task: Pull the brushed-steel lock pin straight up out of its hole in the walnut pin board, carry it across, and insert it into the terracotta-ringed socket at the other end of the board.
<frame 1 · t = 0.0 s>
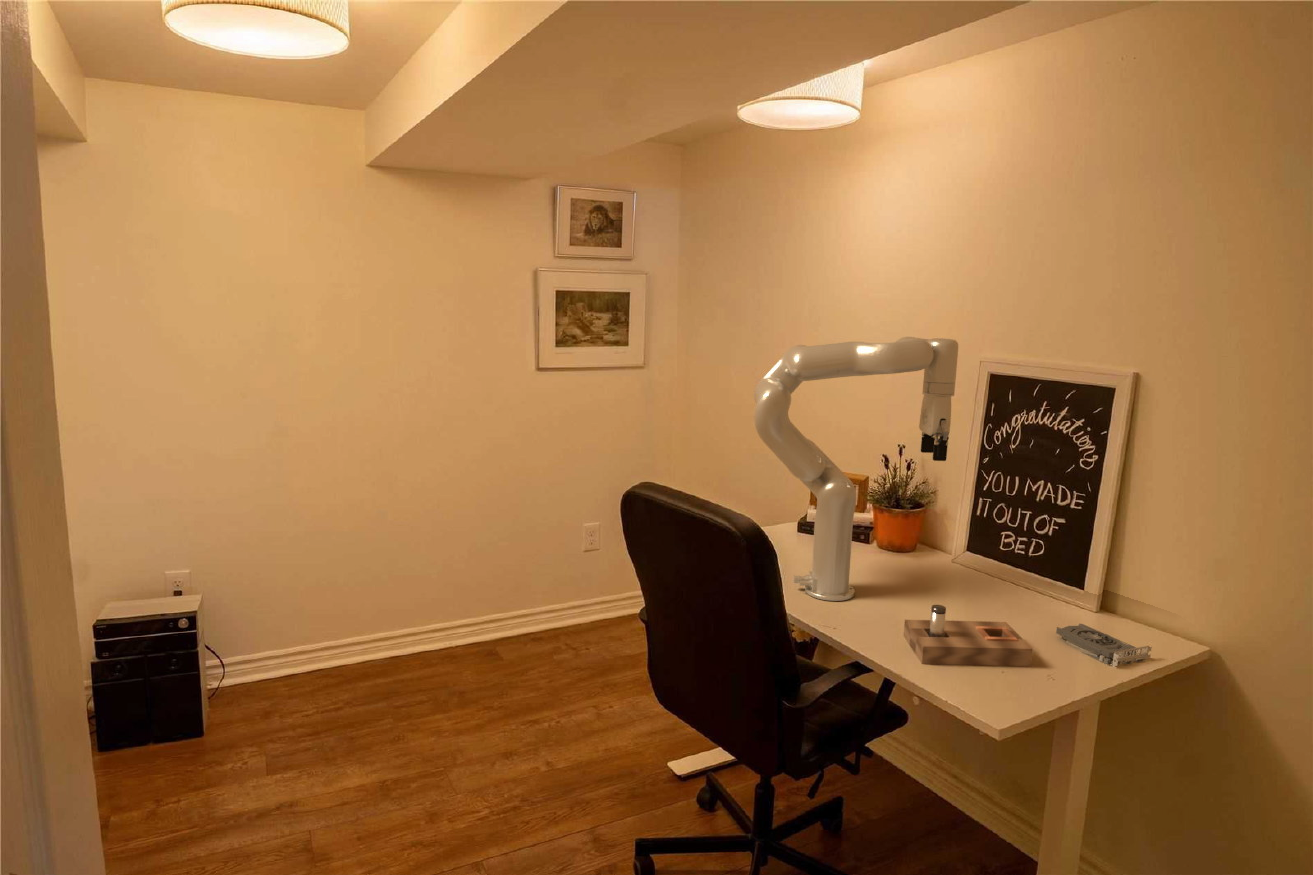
hand: (933, 456, 208), 37 cm above the table, tool pointing down, fingers open, 9 cm apart
graphics card: (1100, 651, 185), on the table
pin board: (964, 650, 182), on the table
lock pin: (935, 650, 182), resting in pin board
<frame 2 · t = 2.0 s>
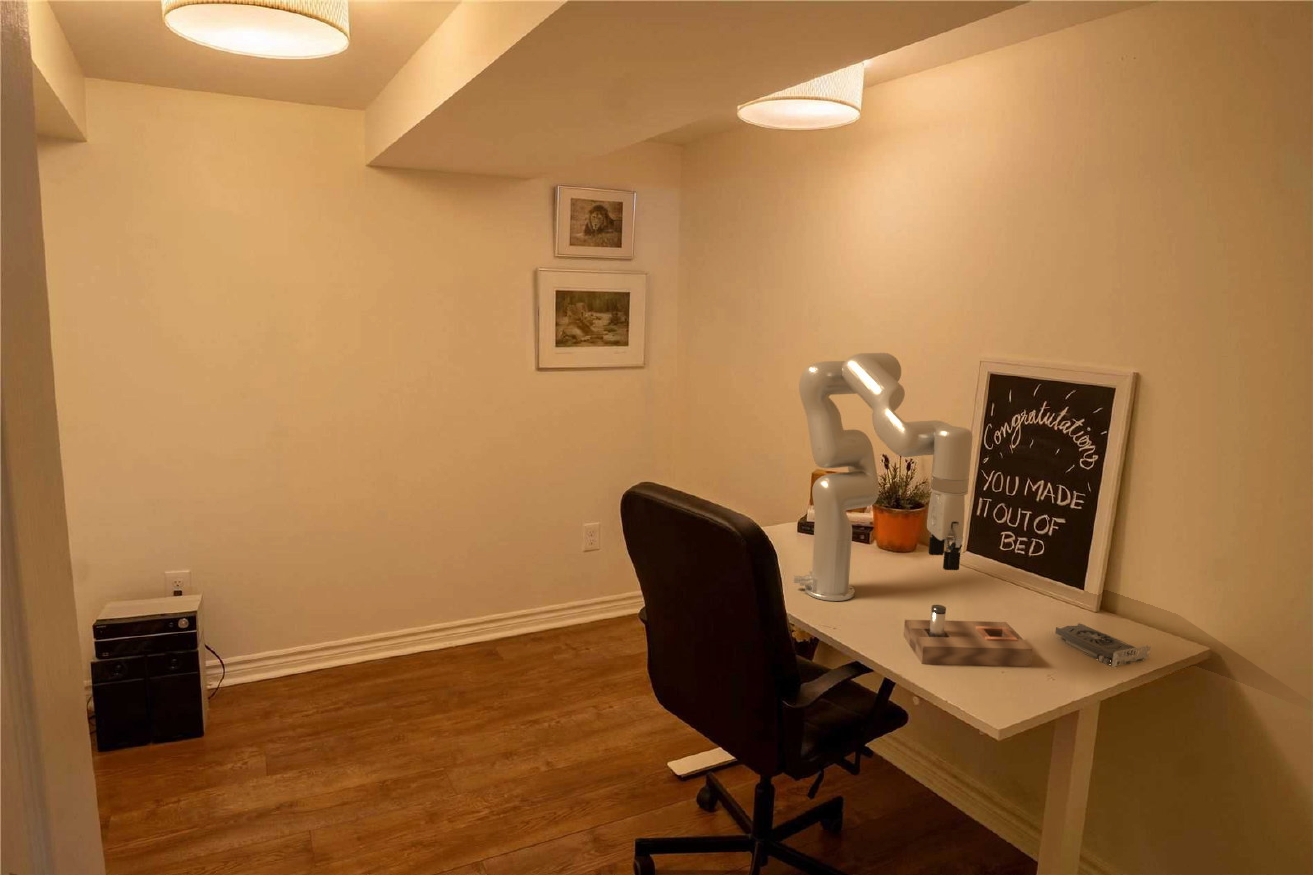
hand: (943, 562, 178), 20 cm above the table, tool pointing down, fingers open, 9 cm apart
nothing on the table moved.
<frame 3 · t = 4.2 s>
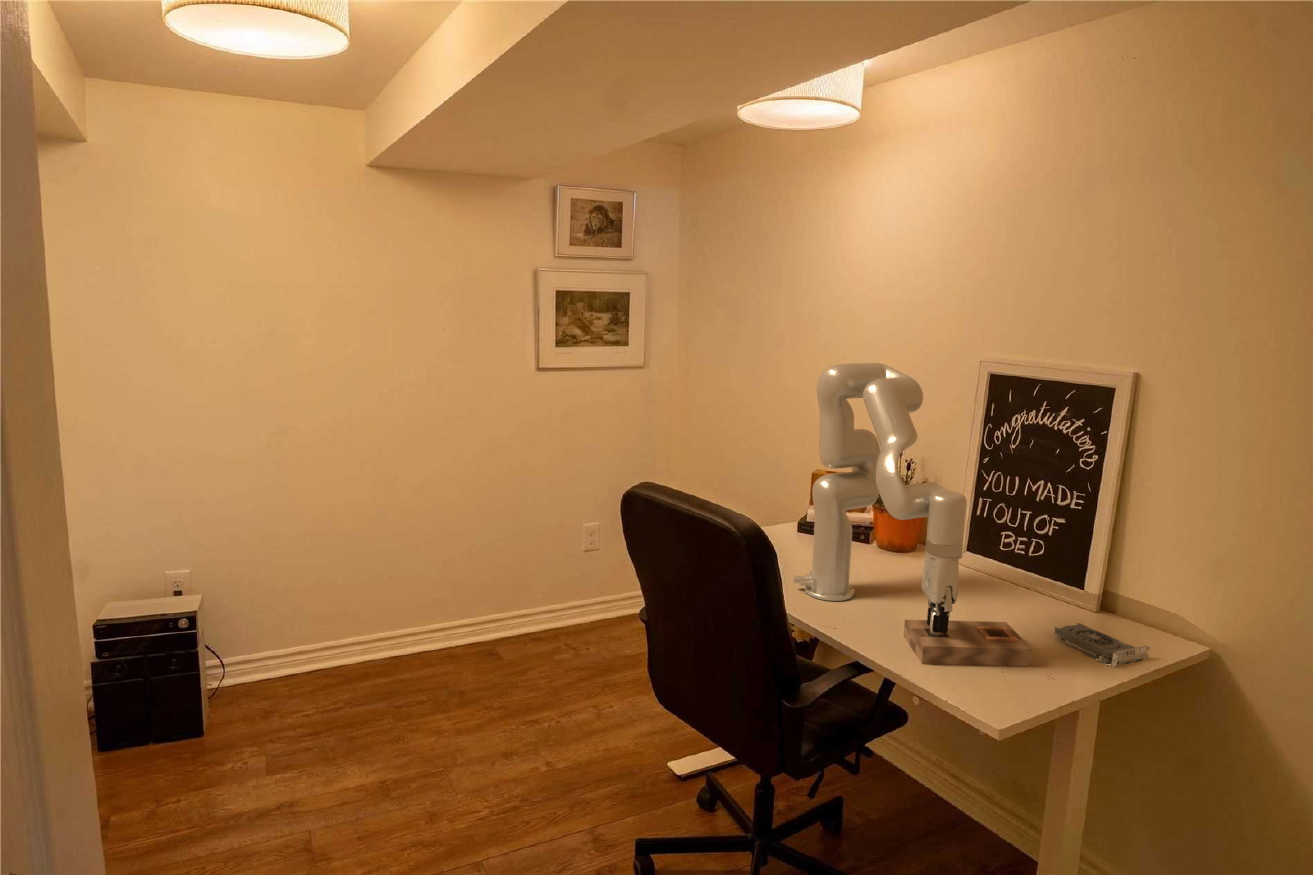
hand: (937, 627, 181), 5 cm above the table, tool pointing down, fingers closed on lock pin, 3 cm apart
lock pin: (935, 650, 182), resting in pin board, touching gripper
everything else where it was.
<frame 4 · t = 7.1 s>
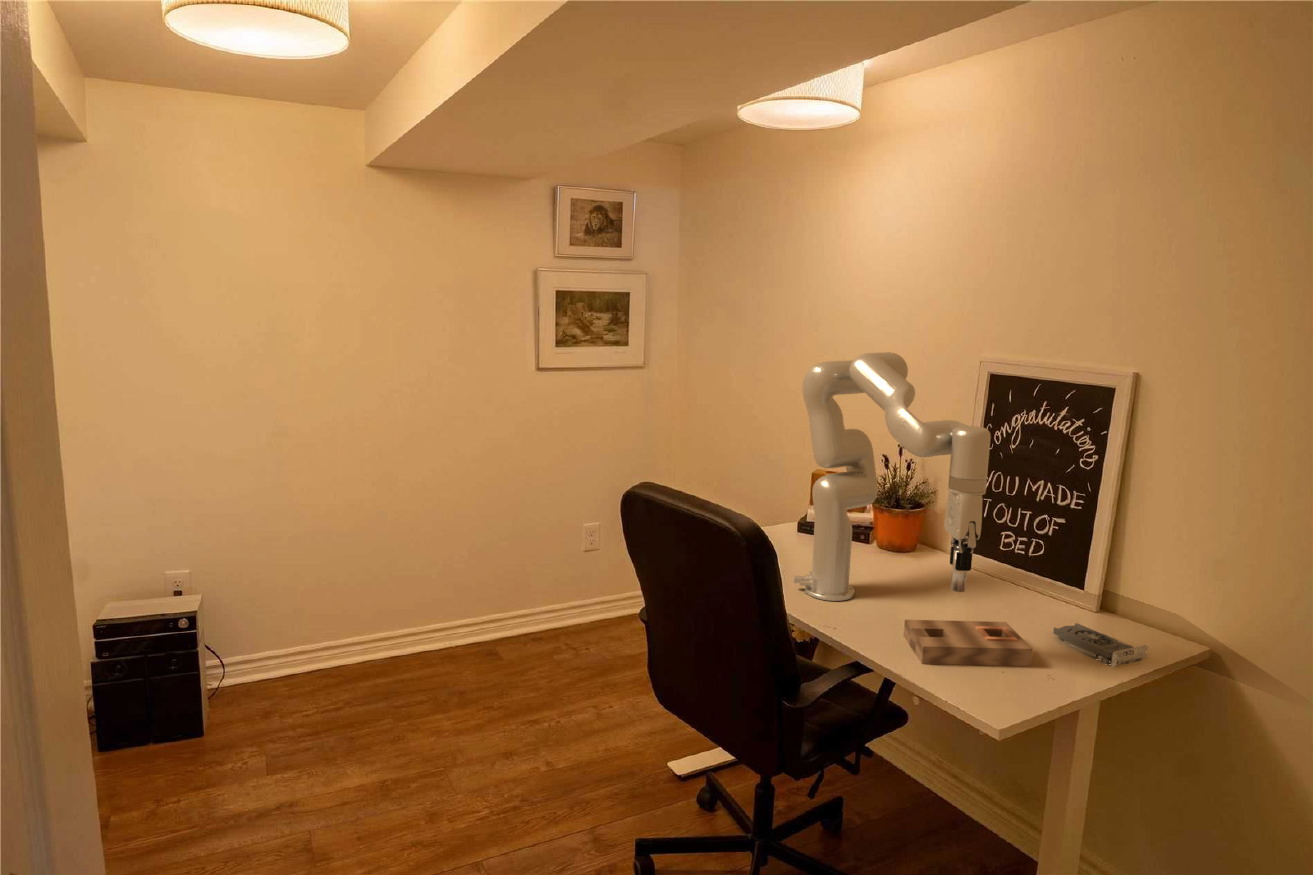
hand: (960, 566, 178), 19 cm above the table, tool pointing down, fingers closed on lock pin, 3 cm apart
lock pin: (958, 589, 179), point 14 cm above the table, touching gripper
everything else where it was.
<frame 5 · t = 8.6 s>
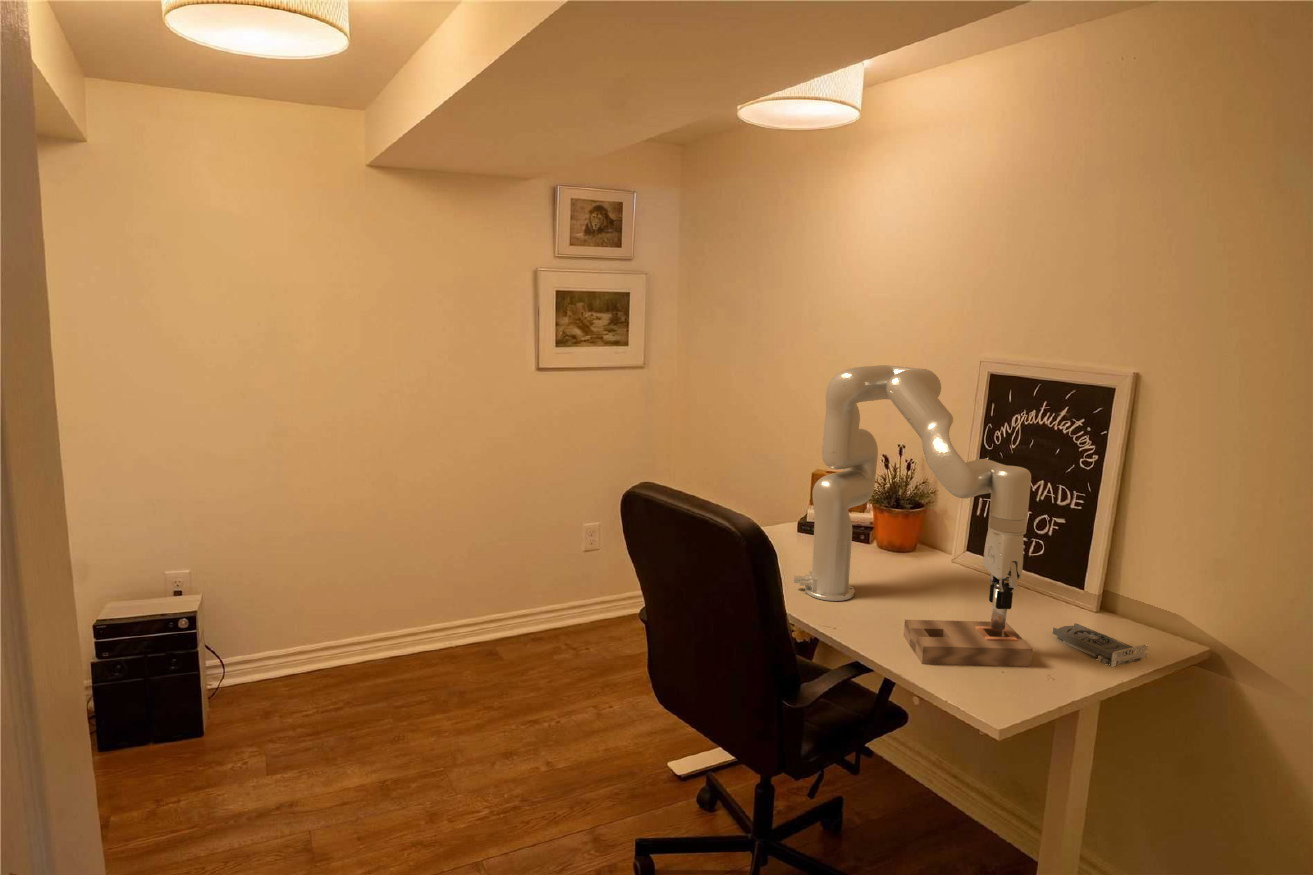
hand: (999, 604, 180), 11 cm above the table, tool pointing down, fingers closed on lock pin, 3 cm apart
lock pin: (997, 627, 181), point 6 cm above the table, touching gripper
everything else where it was.
when the fingers open (6 cm above the table, at t = 9.9 s): lock pin stays where it is, resting in pin board.
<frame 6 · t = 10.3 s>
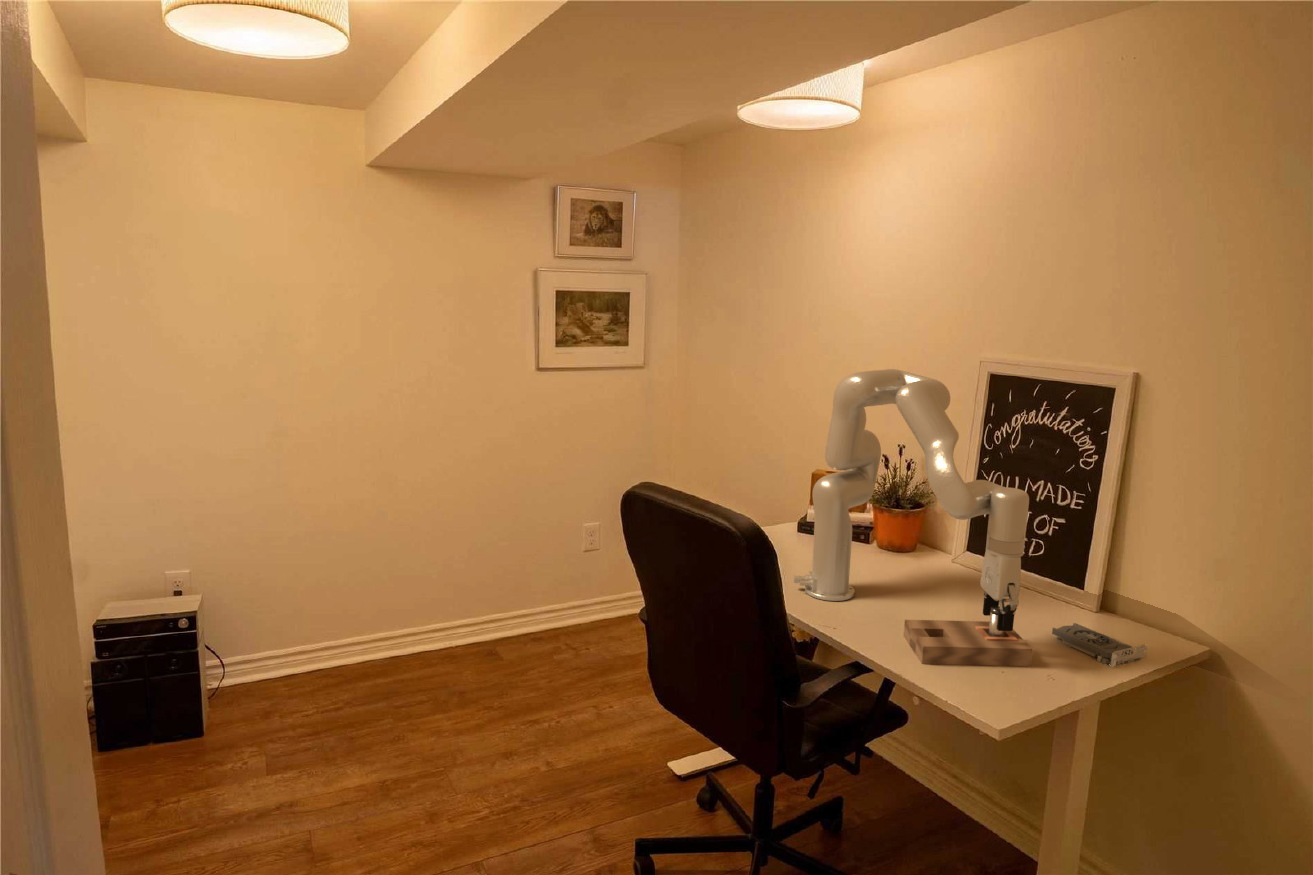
hand: (997, 622, 181), 7 cm above the table, tool pointing down, fingers open, 7 cm apart
lock pin: (994, 651, 182), resting in pin board
everything else where it was.
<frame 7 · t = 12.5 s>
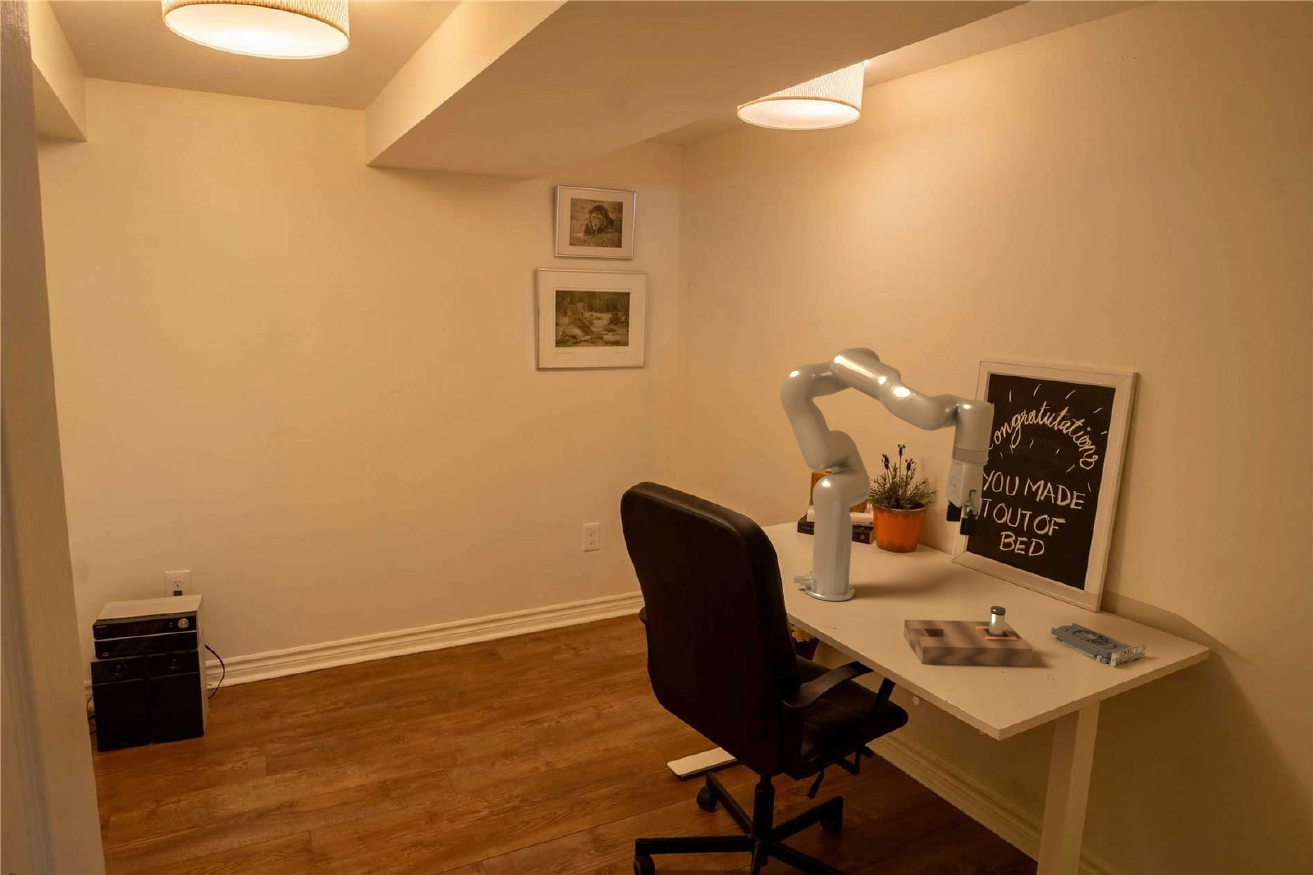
hand: (959, 528, 189), 25 cm above the table, tool pointing down, fingers open, 9 cm apart
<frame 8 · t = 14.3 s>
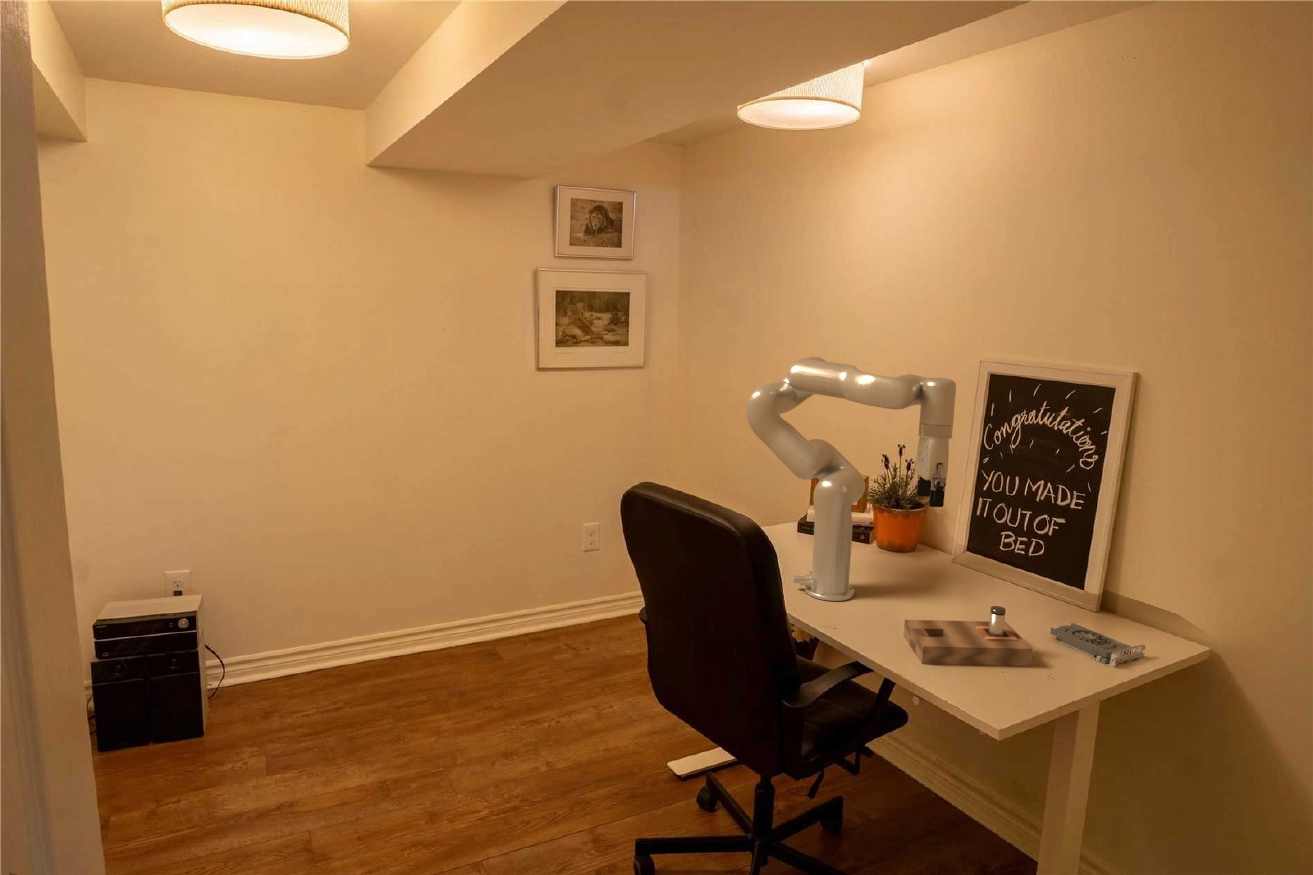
hand: (929, 501, 198), 28 cm above the table, tool pointing down, fingers open, 9 cm apart
at the end: lock pin 0.0 cm from the target spot on the pin board, point 0.0 cm above the pin board's base; lock pin tilted 0°; the gripper is holding nothing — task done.
